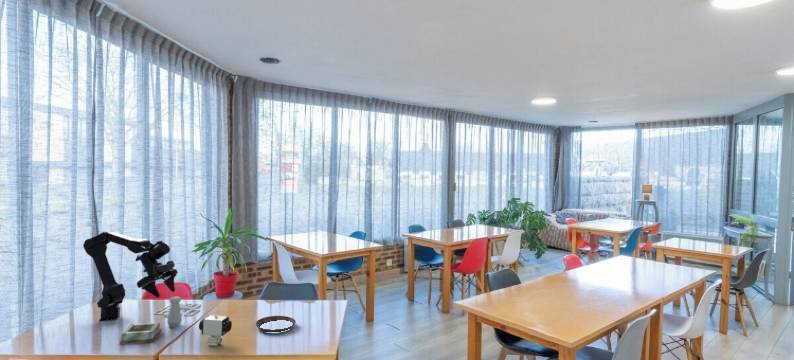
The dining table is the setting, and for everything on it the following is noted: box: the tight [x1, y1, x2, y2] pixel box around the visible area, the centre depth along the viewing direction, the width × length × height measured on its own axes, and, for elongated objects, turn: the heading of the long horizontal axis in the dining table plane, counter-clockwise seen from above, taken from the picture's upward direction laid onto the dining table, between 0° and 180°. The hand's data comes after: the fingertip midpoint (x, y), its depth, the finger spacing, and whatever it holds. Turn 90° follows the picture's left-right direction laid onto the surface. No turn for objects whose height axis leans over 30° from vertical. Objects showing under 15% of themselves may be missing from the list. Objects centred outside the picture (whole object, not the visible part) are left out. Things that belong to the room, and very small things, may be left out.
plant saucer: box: [255, 315, 297, 333], centre depth 186 cm, size 18×18×3 cm
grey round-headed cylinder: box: [166, 296, 183, 328], centre depth 183 cm, size 6×6×13 cm
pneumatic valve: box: [198, 314, 233, 347], centre depth 166 cm, size 6×12×12 cm, turn 86°
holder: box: [118, 322, 162, 345], centre depth 169 cm, size 12×12×4 cm
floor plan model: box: [153, 302, 202, 318], centre depth 203 cm, size 19×25×2 cm
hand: (166, 294), depth 183 cm, fingers open, 9 cm apart
